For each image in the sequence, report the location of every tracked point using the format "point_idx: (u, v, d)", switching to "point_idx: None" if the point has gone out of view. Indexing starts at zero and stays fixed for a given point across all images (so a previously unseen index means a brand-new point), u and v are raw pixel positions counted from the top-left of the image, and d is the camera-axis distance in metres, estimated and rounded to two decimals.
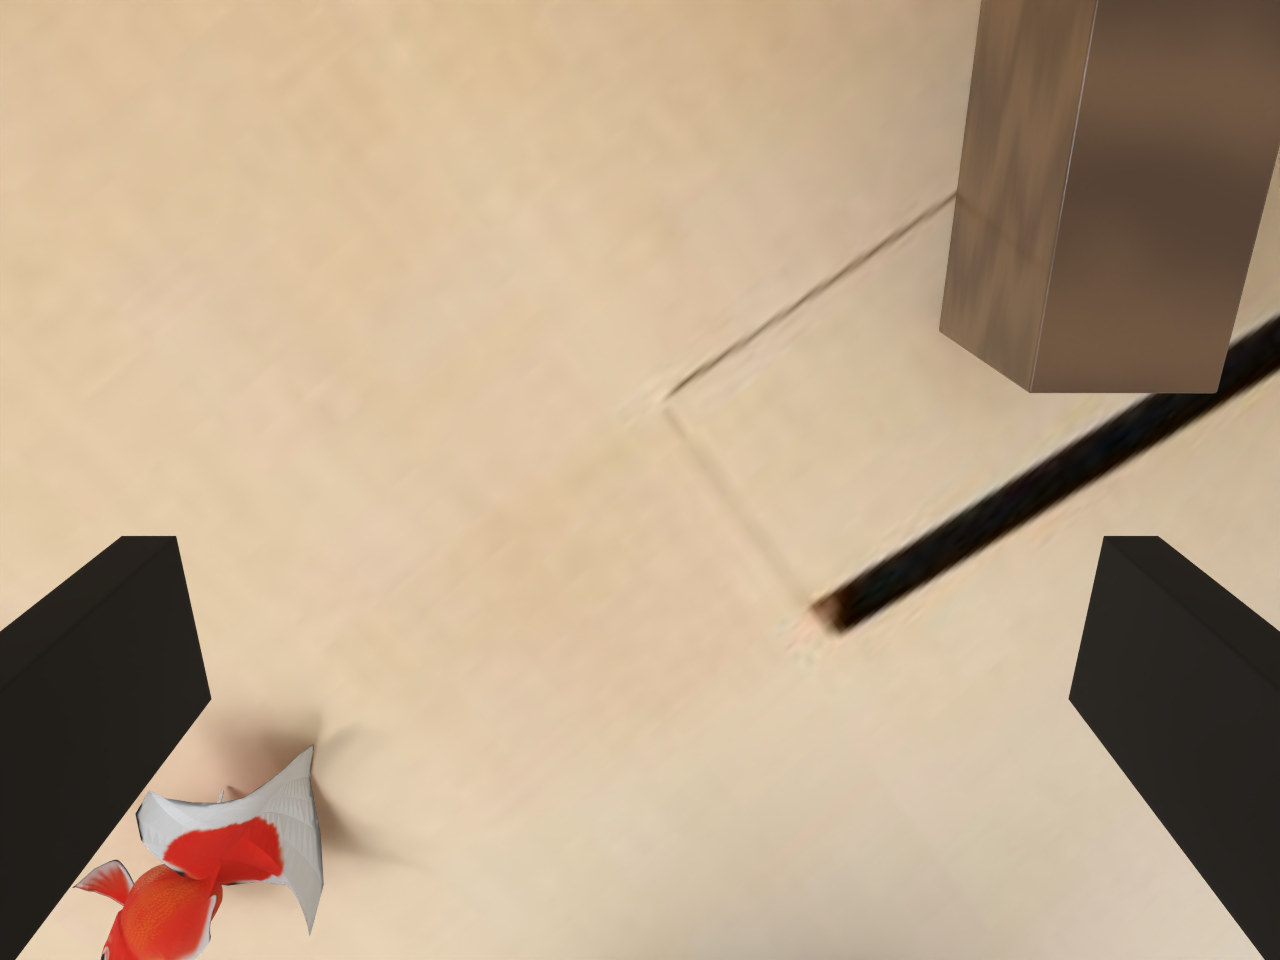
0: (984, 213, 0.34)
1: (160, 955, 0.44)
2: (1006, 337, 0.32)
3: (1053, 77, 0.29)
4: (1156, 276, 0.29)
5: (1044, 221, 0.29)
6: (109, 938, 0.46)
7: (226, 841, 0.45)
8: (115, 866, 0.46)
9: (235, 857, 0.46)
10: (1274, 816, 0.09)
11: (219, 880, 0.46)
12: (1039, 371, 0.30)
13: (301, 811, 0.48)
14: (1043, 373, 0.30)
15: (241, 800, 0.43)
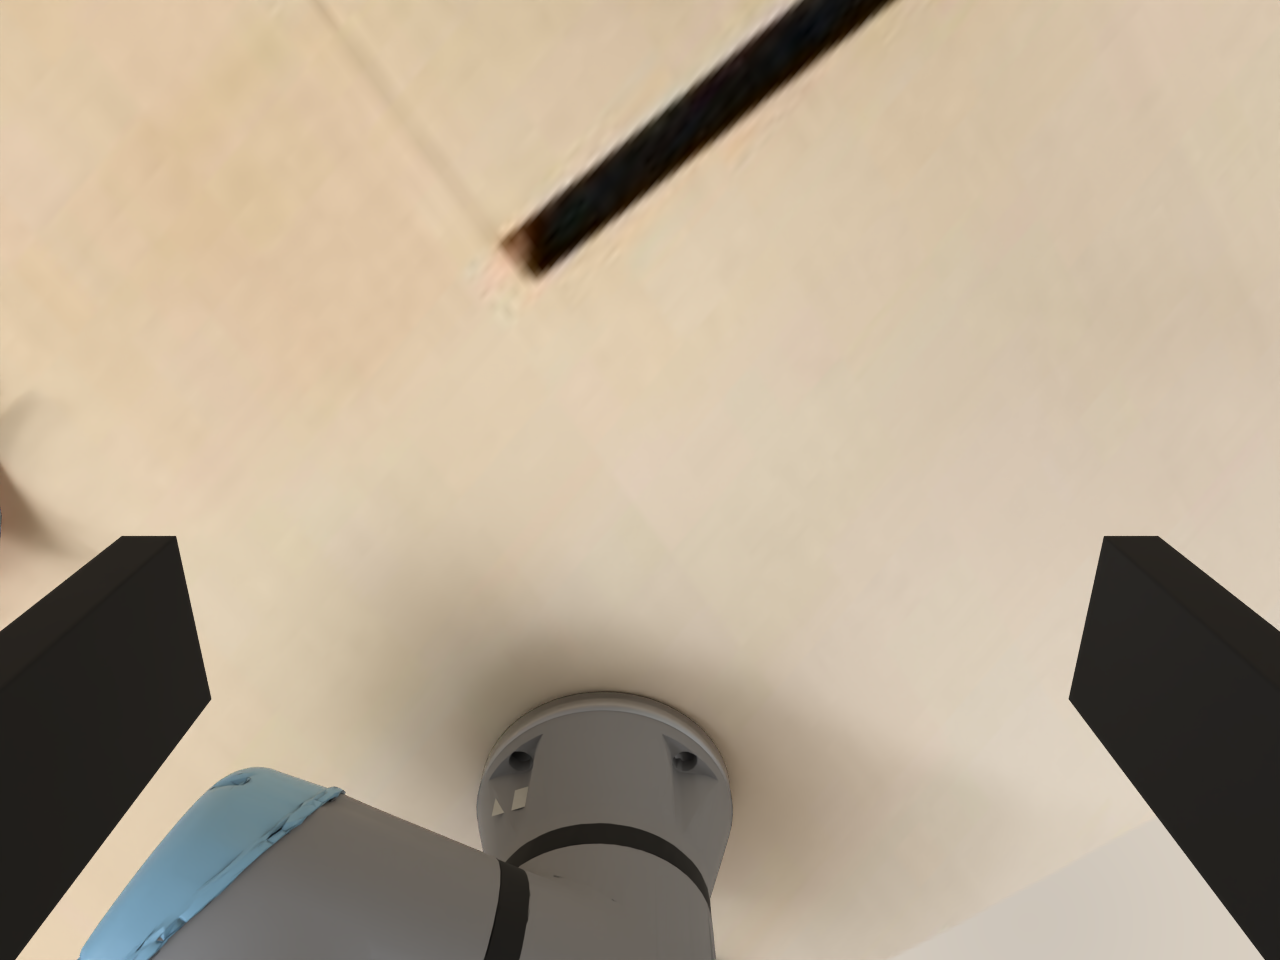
0: None
1: None
2: None
3: None
4: None
5: None
6: None
7: None
8: None
9: None
10: (1273, 816, 0.09)
11: None
12: None
13: None
14: None
15: None
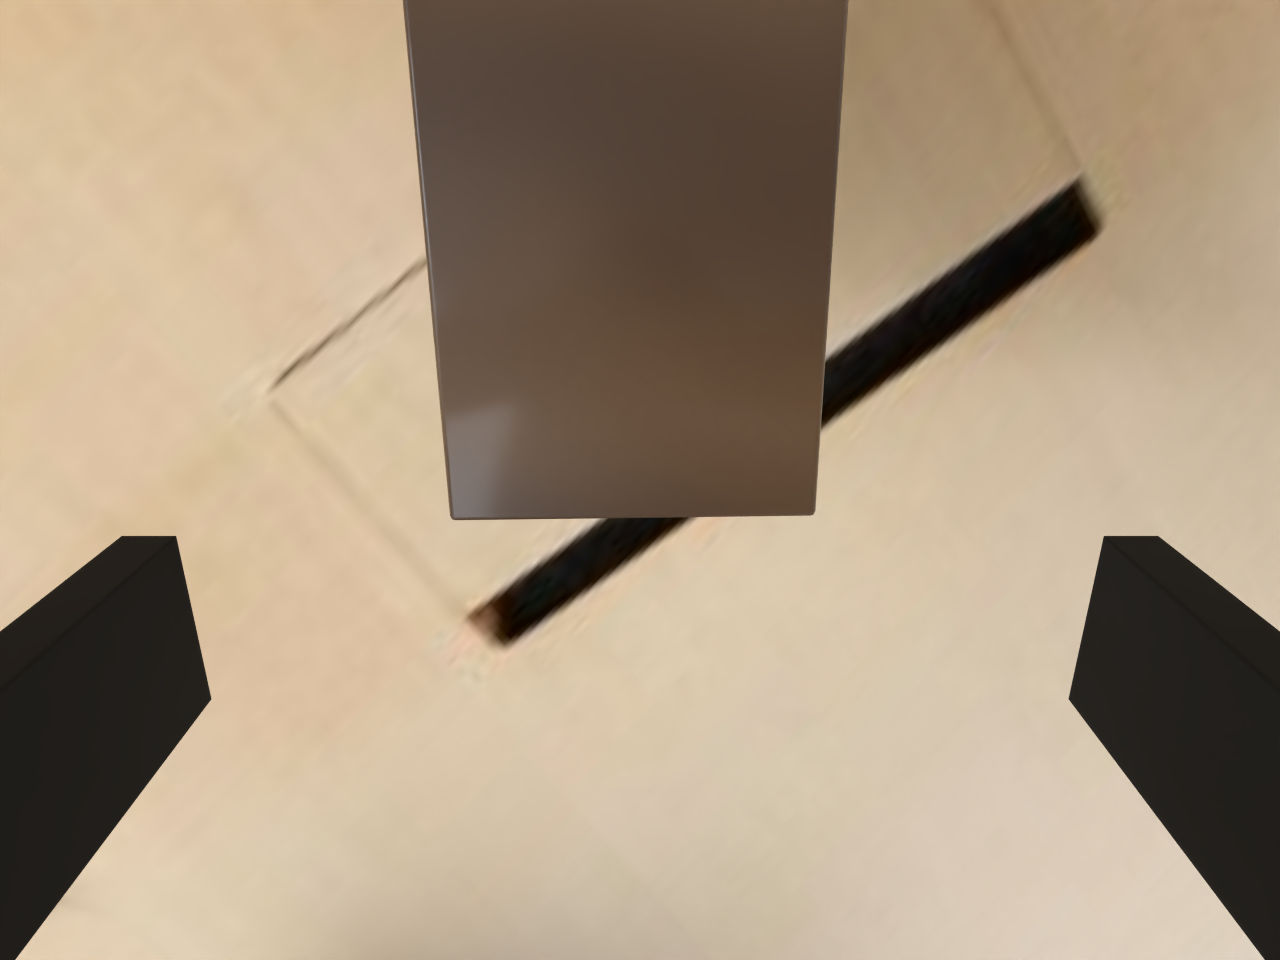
0: None
1: None
2: None
3: None
4: (645, 293, 0.14)
5: None
6: None
7: None
8: None
9: None
10: (1273, 816, 0.09)
11: None
12: (458, 481, 0.15)
13: None
14: (467, 484, 0.15)
15: None
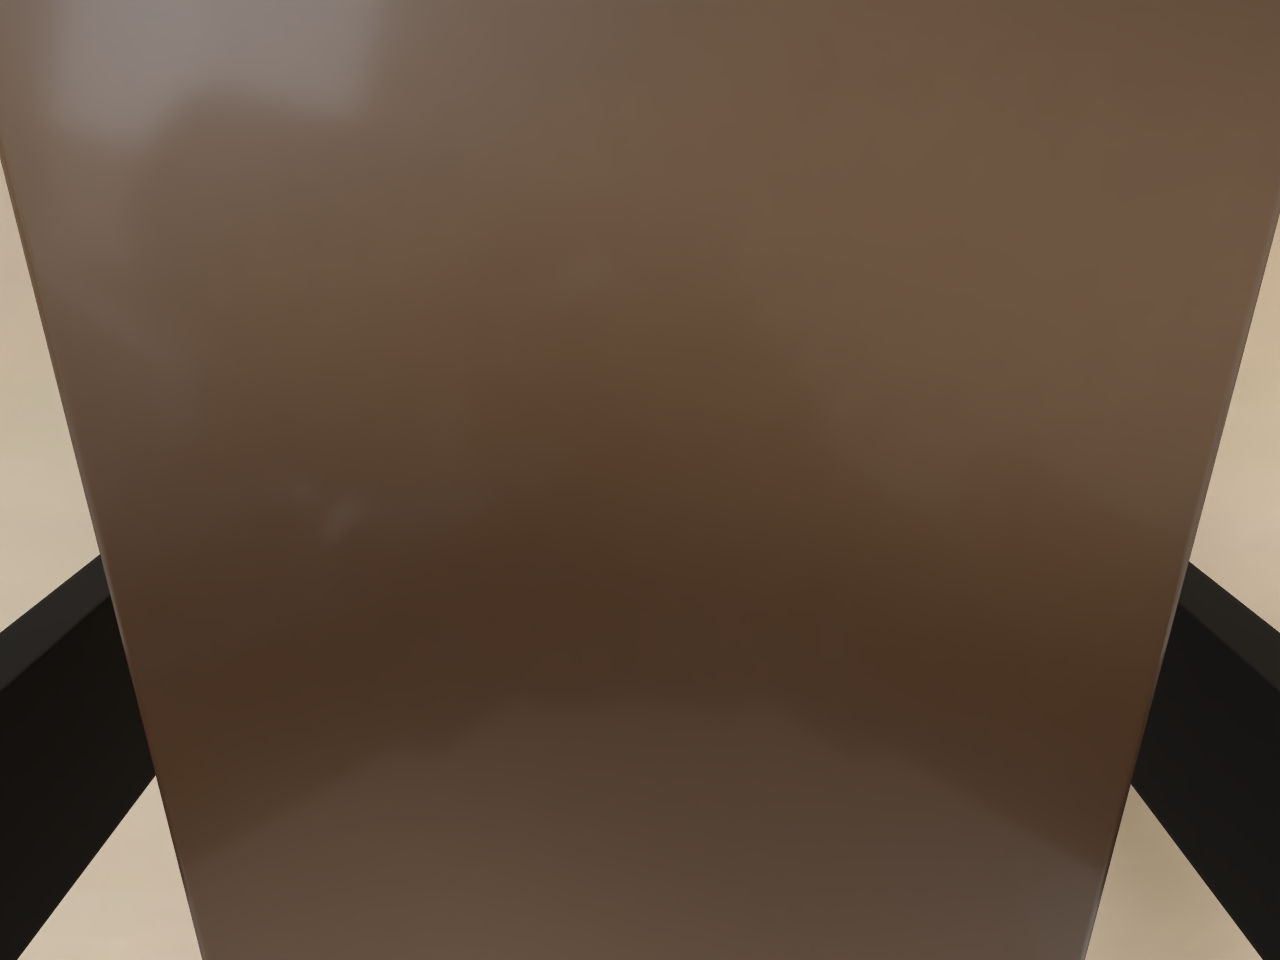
0: None
1: None
2: None
3: None
4: None
5: None
6: None
7: None
8: None
9: None
10: (1270, 814, 0.09)
11: None
12: None
13: None
14: None
15: None
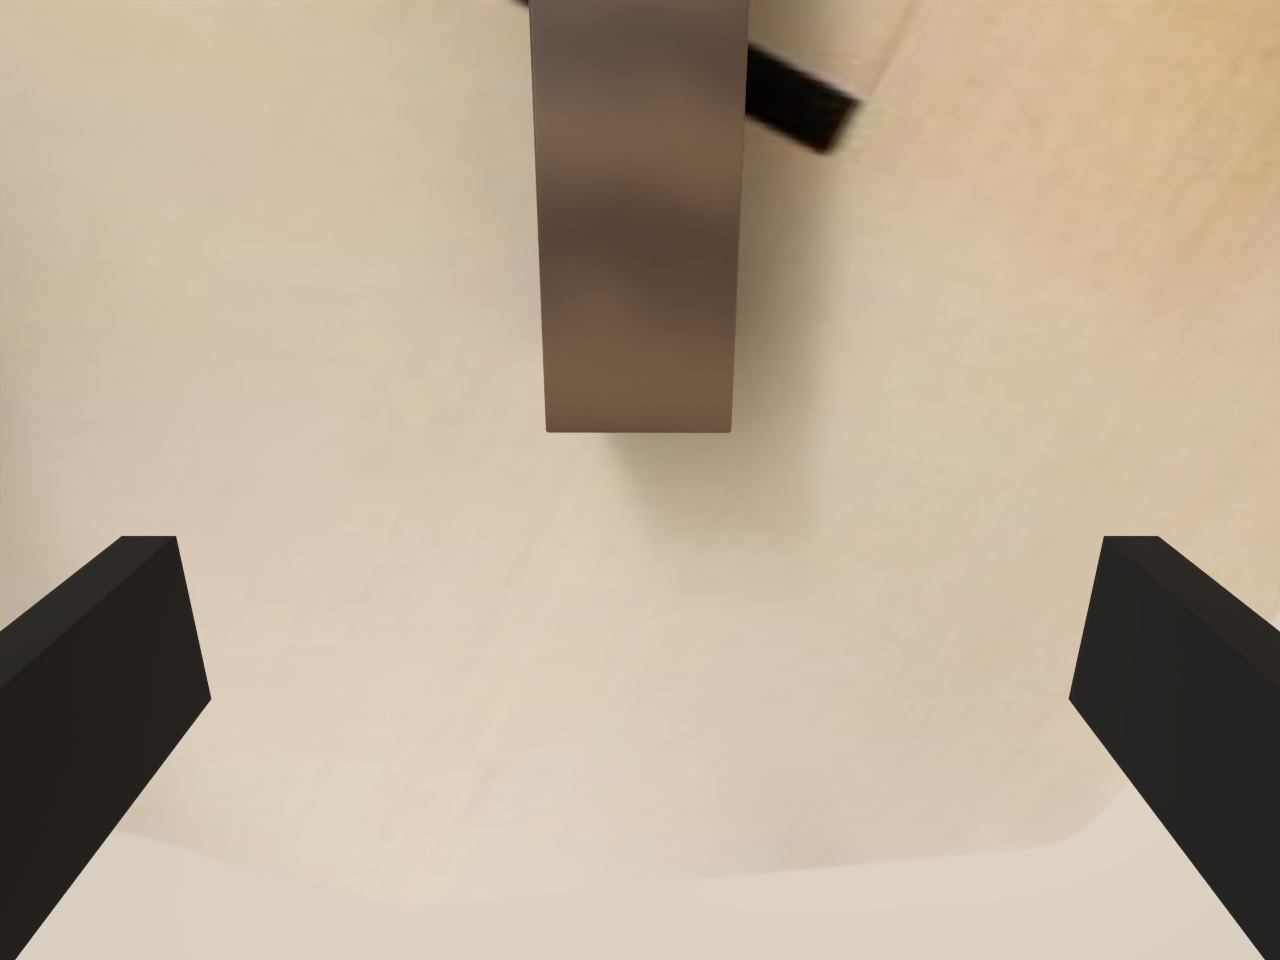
0: None
1: None
2: None
3: None
4: (646, 320, 0.29)
5: None
6: None
7: None
8: None
9: None
10: (1274, 816, 0.09)
11: None
12: (551, 412, 0.31)
13: None
14: (556, 413, 0.31)
15: None
